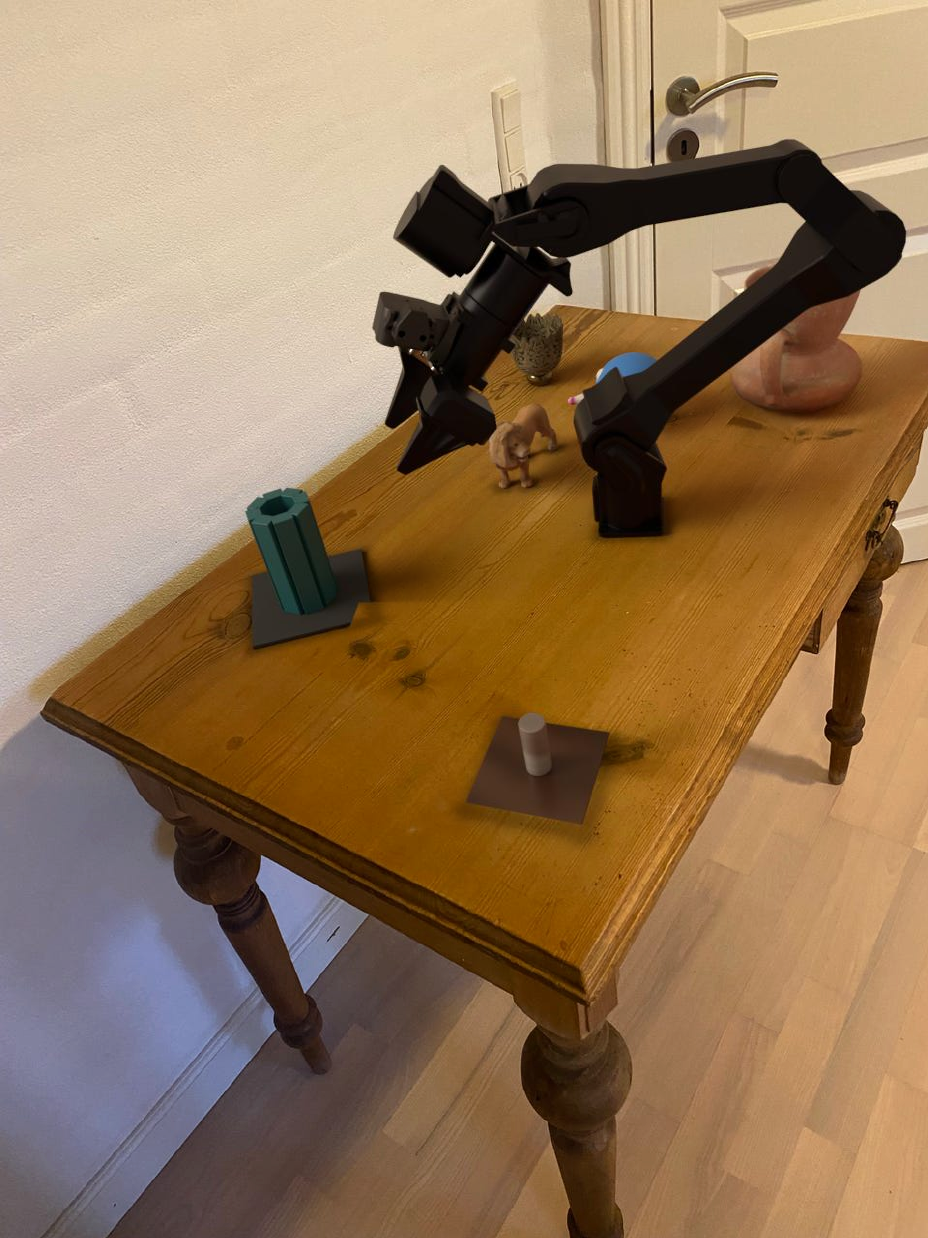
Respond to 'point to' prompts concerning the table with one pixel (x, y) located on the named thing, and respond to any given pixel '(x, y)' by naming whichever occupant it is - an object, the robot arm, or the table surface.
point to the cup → (538, 347)
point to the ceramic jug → (801, 360)
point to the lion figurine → (519, 442)
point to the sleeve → (292, 550)
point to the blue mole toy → (621, 368)
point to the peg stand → (539, 768)
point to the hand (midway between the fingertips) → (394, 448)
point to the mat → (284, 626)
